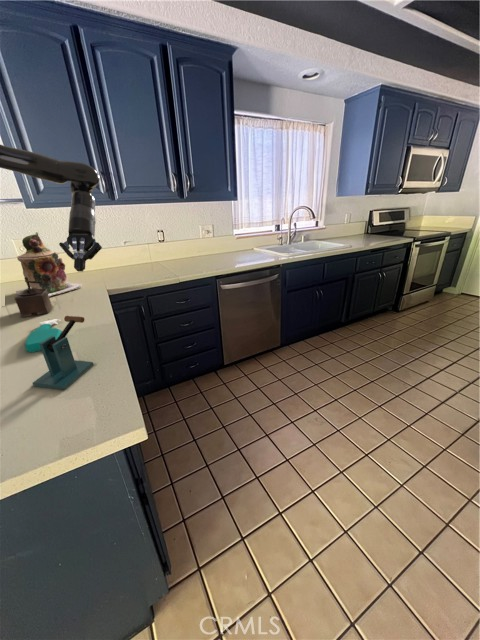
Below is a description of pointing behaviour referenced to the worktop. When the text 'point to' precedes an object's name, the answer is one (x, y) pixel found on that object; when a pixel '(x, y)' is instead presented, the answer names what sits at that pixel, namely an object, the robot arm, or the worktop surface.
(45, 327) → the spray bottle
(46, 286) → the cookie jar
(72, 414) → the worktop surface
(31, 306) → the manual coffee grinder
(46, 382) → the teal lever stand
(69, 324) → the lever handle
